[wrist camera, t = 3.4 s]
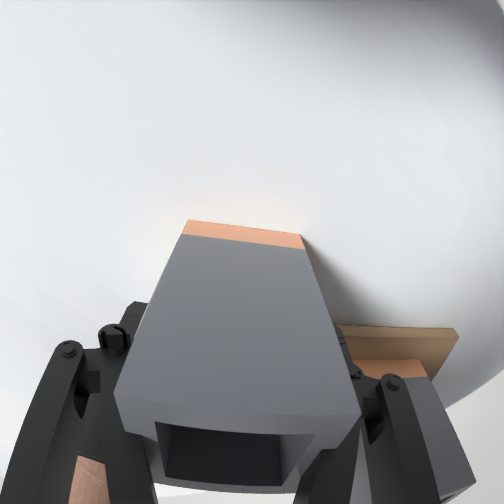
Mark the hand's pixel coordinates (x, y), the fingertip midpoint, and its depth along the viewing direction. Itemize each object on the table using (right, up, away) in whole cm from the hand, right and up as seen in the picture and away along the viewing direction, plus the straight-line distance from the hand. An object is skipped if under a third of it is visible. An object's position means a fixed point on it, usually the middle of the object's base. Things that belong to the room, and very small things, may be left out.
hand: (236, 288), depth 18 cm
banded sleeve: (0, +1, +1) cm, 1 cm away
